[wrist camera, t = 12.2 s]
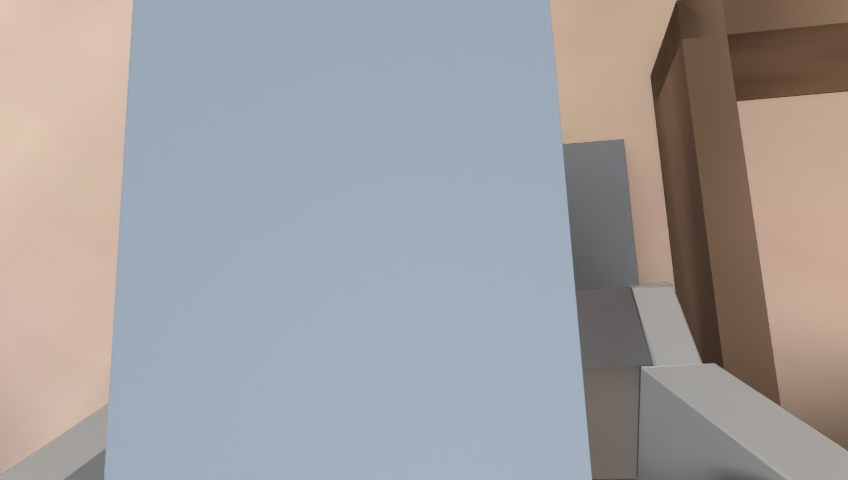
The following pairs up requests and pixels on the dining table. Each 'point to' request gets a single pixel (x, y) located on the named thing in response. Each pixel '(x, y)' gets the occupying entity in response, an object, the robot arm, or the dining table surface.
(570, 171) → the mat
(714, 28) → the frame
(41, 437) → the dining table surface
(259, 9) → the board
